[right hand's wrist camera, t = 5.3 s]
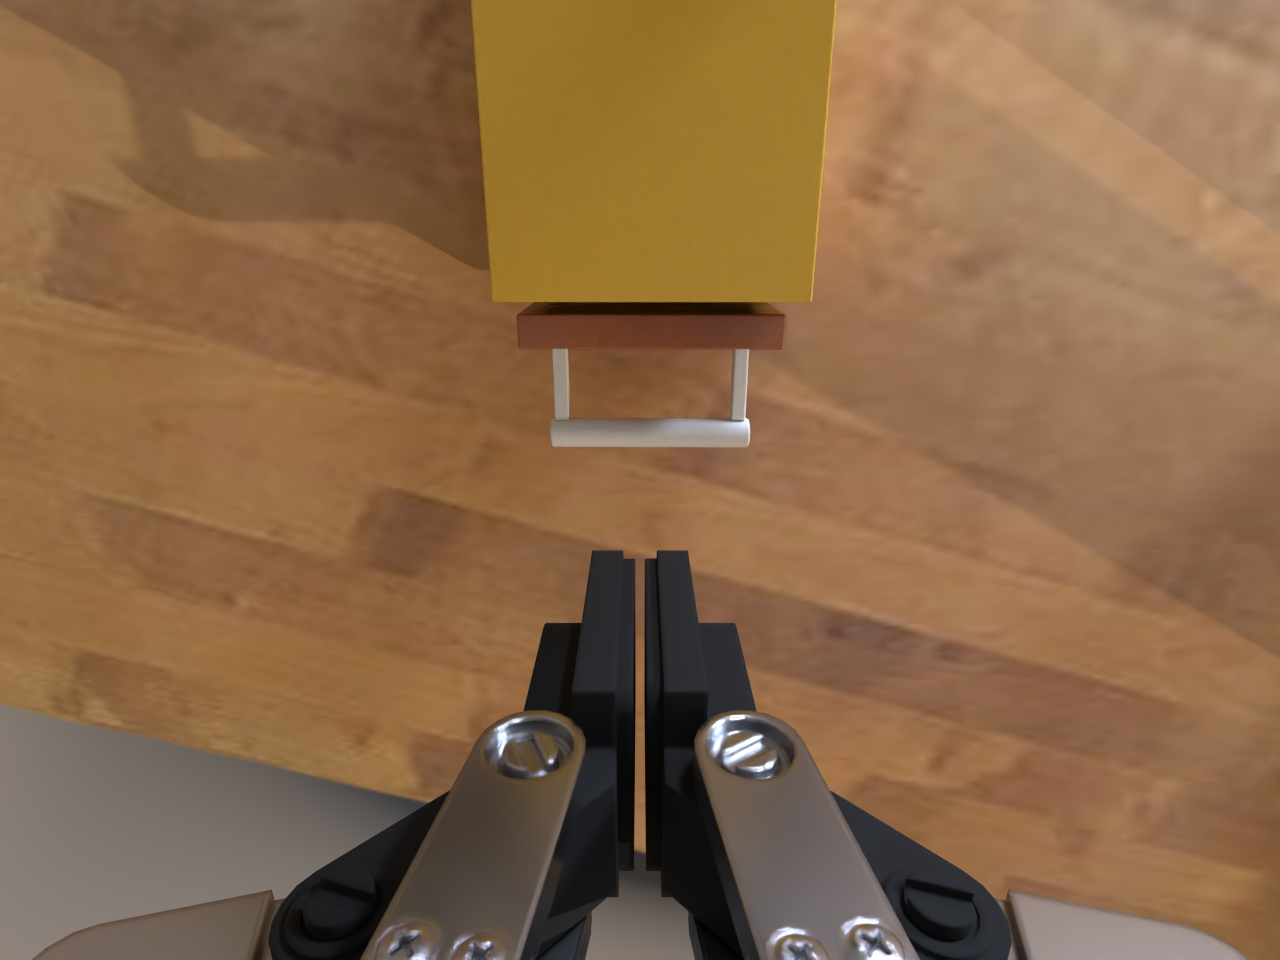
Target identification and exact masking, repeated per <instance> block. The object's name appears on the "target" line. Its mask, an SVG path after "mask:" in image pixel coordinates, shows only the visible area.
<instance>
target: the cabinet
mask: <svg viewBox="0 0 1280 960" xmlns="http://www.w3.org/2000/svg"><path fill="white" fill-rule="evenodd" d="M470 2H471V16H472V30H473V44H474V58H475V72H476V86H477V100H478V114H479V128H480V142H481V156H482V170H483V184H484V198H485V212H486V226H487V240H488V254H489V268H490V282H491V296H492V301H493V302H811V301H812V293H813V281H814V269H815V256H816V244H817V232H818V220H819V208H820V196H821V184H822V172H823V160H824V148H825V135H826V123H827V111H828V99H829V87H830V75H831V63H832V51H833V39H834V26H835V14H836V2H837V0H470Z"/></svg>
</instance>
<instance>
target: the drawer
mask: <svg viewBox="0 0 1280 960" xmlns="http://www.w3.org/2000/svg"><path fill="white" fill-rule="evenodd" d="M785 327H786V315H785V314H783V313H782V312H780V311H779V310H777V309H776V308H774V307H773V306H771V305H770V304H768V303H767V302H534V303H533V304H532V305H530V306H529V307H527V308H526V309H525V310H523V311H522V312H520V313H519V314H518V315H517V330H518V346H519V348H520V349H552V360H553V383H554V406H555V418H553V419H552V420H551V424H550V439H551V444H552V446H554V447H748V445H749V441H750V423H749V420H748V419H746V418H745V412H746V393H747V374H748V356H749V349H783V348H784V341H785ZM568 349H733V358H732V380H731V401H730V418H570V394H569V366H568Z"/></svg>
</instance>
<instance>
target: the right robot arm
mask: <svg viewBox="0 0 1280 960" xmlns="http://www.w3.org/2000/svg"><path fill="white" fill-rule="evenodd" d="M634 802H635V559H623V551H592V556H591V563H590V570H589V576H588V583H587V590H586V597H585V604H584V611H583V618H582V623H546V624H545V625H544V628H543V632H542V636H541V640H540V645H539V649H538V653H537V657H536V661H535V666H534V670H533V674H532V678H531V682H530V687H529V691H528V695H527V699H526V703H525V708H524V712H519V713H515V714H511V715H509V716H507V717H504V718H502V719H500V720H498V721H496V722H495V723H494V724H492V725H491V726H489V727H488V728H487V729H485V731H484V732H483V733H482V734H481V736H480V737H479V738H478V740H477V741H476V743H475V745H474V747H473V749H472V751H471V752H470V754H469V756H468V758H467V760H466V762H465V764H464V766H463V767H462V769H461V771H460V773H459V775H458V777H457V779H456V781H455V782H454V784H453V786H452V788H451V790H450V791H448V792H446V793H445V794H443V795H441V796H440V797H438V798H436V799H435V800H433V801H431V802H430V803H428V804H426V805H425V806H423V807H422V808H420V809H418V810H417V811H415V812H413V813H412V814H410V815H408V816H407V817H405V818H403V819H402V820H400V821H398V822H397V823H395V824H393V825H392V826H390V827H389V828H387V829H385V830H384V831H382V832H380V833H379V834H377V835H375V836H374V837H372V838H370V839H369V840H367V841H365V842H364V843H362V844H360V845H359V846H357V847H356V848H354V849H352V850H351V851H349V852H347V853H346V854H344V855H342V856H341V857H339V858H337V859H336V860H334V861H332V862H331V863H329V864H327V865H326V866H324V867H323V868H321V869H319V870H318V871H316V872H315V873H313V874H312V875H311V876H309V877H308V878H307V879H305V880H304V881H303V882H301V883H300V884H299V885H297V886H296V887H295V888H294V890H293V891H292V892H291V893H290V894H289V895H288V896H287V898H284V899H279V900H274V897H273V893H272V890H269V891H263V892H259V893H254V894H248V895H243V896H238V897H233V898H228V899H223V900H218V901H213V902H208V903H203V904H198V905H193V906H188V907H183V908H178V909H173V910H167V911H162V912H157V913H152V914H147V915H142V916H137V917H132V918H127V919H122V920H117V921H112V922H107V923H102V924H98V925H95V926H92V927H89V928H86V929H83V930H80V931H76V932H74V933H72V934H70V935H68V936H66V937H65V938H63V939H61V940H59V941H58V942H56V943H54V944H52V945H51V946H49V947H47V948H45V949H44V950H43V951H42V952H41V953H40V954H38V955H37V956H36V957H35V958H34V959H32V960H585V957H586V953H587V948H588V944H589V940H590V935H591V922H592V914H591V911H592V910H593V909H594V908H596V907H597V906H598V905H599V904H600V903H601V902H602V901H604V900H605V899H606V898H607V897H618V892H619V871H634ZM645 803H646V871H661V892H662V897H673V898H674V899H675V900H677V901H678V902H679V903H680V904H681V905H682V906H683V907H685V908H686V909H687V910H688V911H689V915H688V922H689V935H690V940H691V944H692V948H693V953H694V957H695V960H1248V959H1246V958H1245V957H1244V956H1243V955H1242V954H1240V953H1239V952H1238V951H1237V950H1236V949H1235V948H1233V947H1231V946H1229V945H1228V944H1226V943H1224V942H1222V941H1221V940H1219V939H1217V938H1215V937H1214V936H1212V935H1210V934H1208V933H1207V932H1204V931H1200V930H1197V929H1194V928H1191V927H1188V926H1185V925H1182V924H1178V923H1173V922H1168V921H1163V920H1158V919H1153V918H1148V917H1143V916H1138V915H1133V914H1128V913H1123V912H1118V911H1113V910H1107V909H1102V908H1097V907H1092V906H1087V905H1082V904H1077V903H1072V902H1067V901H1062V900H1057V899H1052V898H1047V897H1042V896H1037V895H1032V894H1027V893H1022V892H1017V891H1011V890H1008V893H1007V897H1006V900H1001V899H996V898H993V896H992V895H991V894H990V893H989V892H988V891H987V890H986V888H985V887H984V886H983V885H981V884H980V883H979V882H977V881H976V880H975V879H973V878H972V877H971V876H969V875H968V874H967V873H965V872H964V871H962V870H961V869H959V868H957V867H956V866H954V865H953V864H951V863H949V862H948V861H946V860H944V859H943V858H941V857H939V856H938V855H936V854H934V853H933V852H931V851H929V850H928V849H926V848H924V847H923V846H921V845H920V844H918V843H916V842H915V841H913V840H911V839H910V838H908V837H906V836H905V835H903V834H901V833H900V832H898V831H896V830H895V829H893V828H891V827H890V826H888V825H887V824H885V823H883V822H882V821H880V820H878V819H877V818H875V817H873V816H872V815H870V814H868V813H867V812H865V811H863V810H862V809H860V808H858V807H857V806H855V805H854V804H852V803H850V802H849V801H847V800H845V799H844V798H842V797H840V796H839V795H837V794H835V793H834V792H832V791H830V790H829V788H828V786H827V784H826V782H825V781H824V779H823V777H822V775H821V773H820V771H819V769H818V767H817V766H816V764H815V762H814V760H813V758H812V756H811V754H810V752H809V751H808V749H807V747H806V745H805V743H804V741H803V740H802V738H801V737H800V736H799V734H798V733H797V732H796V731H795V729H793V728H792V727H791V726H789V725H788V724H786V723H785V722H784V721H782V720H780V719H778V718H776V717H773V716H771V715H769V714H765V713H761V712H756V708H755V703H754V699H753V695H752V691H751V687H750V682H749V678H748V674H747V670H746V666H745V661H744V657H743V653H742V649H741V645H740V640H739V636H738V632H737V628H736V625H735V624H734V623H698V618H697V611H696V604H695V597H694V590H693V583H692V576H691V570H690V563H689V556H688V551H657V559H645Z"/></svg>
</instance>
